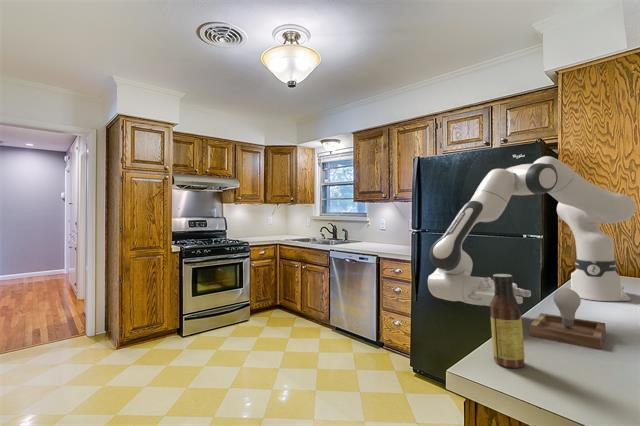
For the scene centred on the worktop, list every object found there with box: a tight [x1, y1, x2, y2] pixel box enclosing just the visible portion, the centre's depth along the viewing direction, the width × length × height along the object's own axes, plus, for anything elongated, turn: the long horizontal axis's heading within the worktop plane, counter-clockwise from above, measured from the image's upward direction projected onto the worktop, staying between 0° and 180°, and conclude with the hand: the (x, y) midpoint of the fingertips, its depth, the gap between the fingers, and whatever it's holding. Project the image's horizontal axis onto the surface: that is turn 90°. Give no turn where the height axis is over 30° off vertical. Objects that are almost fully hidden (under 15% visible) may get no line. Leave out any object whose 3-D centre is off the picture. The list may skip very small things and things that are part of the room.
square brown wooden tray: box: [528, 313, 607, 350], centre depth 92 cm, size 15×15×2 cm
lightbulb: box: [552, 287, 582, 328], centre depth 93 cm, size 6×6×11 cm
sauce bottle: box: [489, 273, 526, 369], centre depth 76 cm, size 7×6×20 cm
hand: (526, 297), depth 98 cm, fingers open, 8 cm apart
